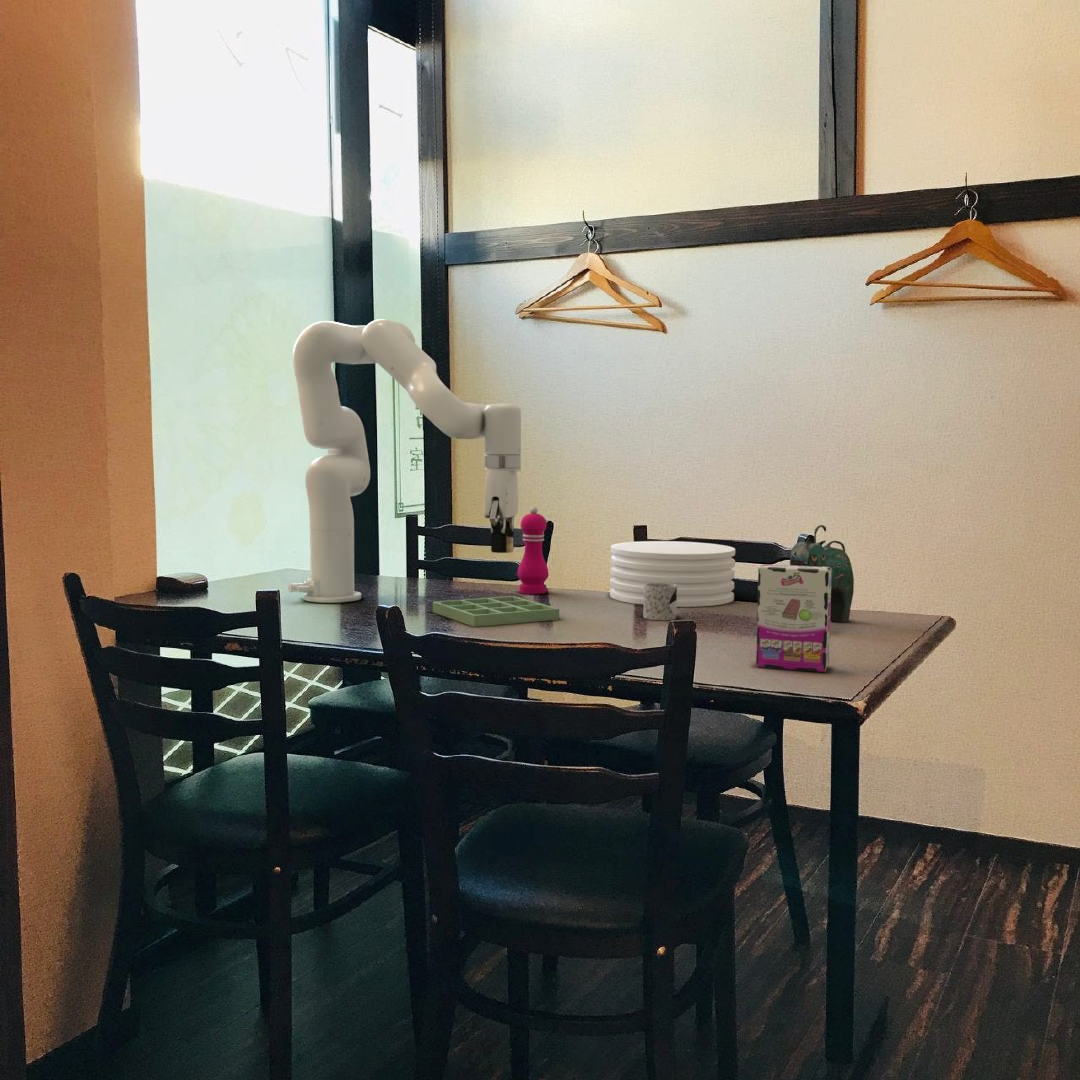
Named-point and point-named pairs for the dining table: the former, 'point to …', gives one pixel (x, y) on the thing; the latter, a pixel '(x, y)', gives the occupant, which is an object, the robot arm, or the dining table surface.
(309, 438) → the robot arm
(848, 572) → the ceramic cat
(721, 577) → the plate stack
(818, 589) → the candy bar box
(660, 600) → the mug
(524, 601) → the grid
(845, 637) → the dining table surface
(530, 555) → the pepper mill
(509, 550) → the token
